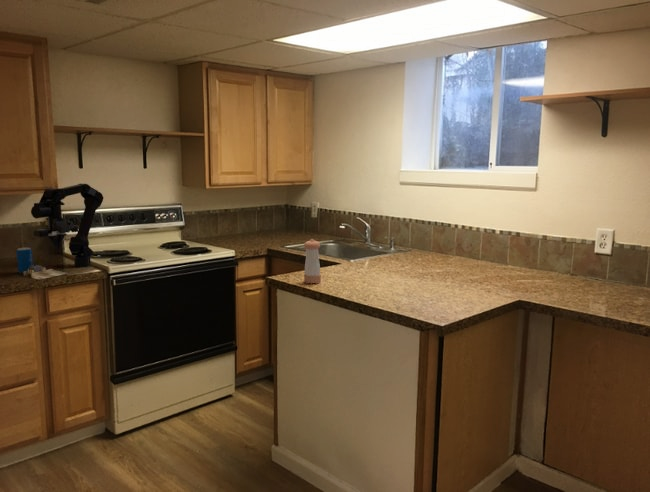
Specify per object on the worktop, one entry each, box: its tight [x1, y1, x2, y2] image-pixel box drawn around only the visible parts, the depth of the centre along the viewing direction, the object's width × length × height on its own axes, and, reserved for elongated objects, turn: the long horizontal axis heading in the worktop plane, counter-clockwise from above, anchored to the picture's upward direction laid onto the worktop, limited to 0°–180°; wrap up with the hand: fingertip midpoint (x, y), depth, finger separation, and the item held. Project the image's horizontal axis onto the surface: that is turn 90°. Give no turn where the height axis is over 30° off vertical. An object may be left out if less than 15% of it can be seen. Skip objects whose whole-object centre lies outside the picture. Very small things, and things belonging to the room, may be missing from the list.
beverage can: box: [16, 247, 34, 274], centre depth 260 cm, size 6×6×12 cm
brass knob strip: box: [24, 269, 34, 278], centre depth 251 cm, size 2×5×3 cm, turn 57°
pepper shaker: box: [303, 238, 322, 284], centre depth 242 cm, size 7×7×19 cm
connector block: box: [29, 264, 44, 272], centre depth 253 cm, size 4×4×4 cm
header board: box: [22, 266, 69, 280], centre depth 255 cm, size 14×13×3 cm
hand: (57, 249), depth 257 cm, fingers closed
